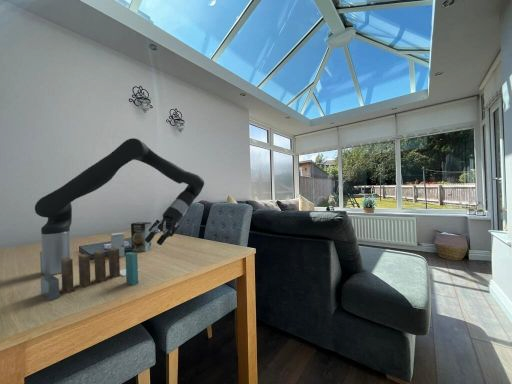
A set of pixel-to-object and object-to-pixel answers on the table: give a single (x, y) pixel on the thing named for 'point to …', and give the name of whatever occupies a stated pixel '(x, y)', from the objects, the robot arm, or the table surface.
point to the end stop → (50, 287)
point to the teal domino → (131, 268)
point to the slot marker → (123, 272)
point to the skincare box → (118, 242)
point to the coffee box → (140, 236)
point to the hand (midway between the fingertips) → (152, 242)
